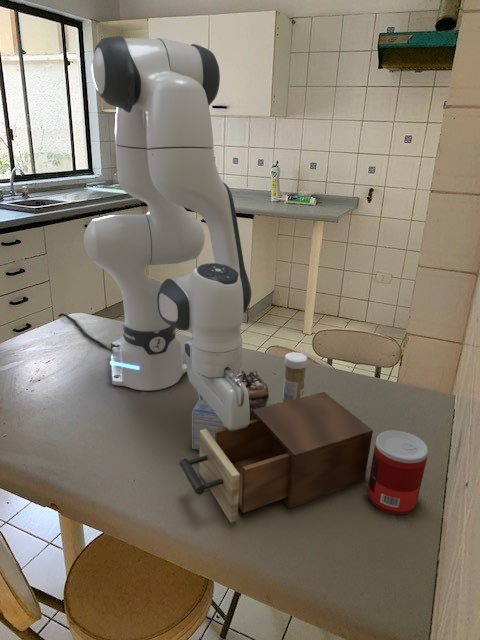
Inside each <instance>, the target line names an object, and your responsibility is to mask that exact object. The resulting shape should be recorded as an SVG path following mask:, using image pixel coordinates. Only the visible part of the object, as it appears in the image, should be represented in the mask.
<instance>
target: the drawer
mask: <svg viewBox="0 0 480 640" xmlns="http://www.w3.org/2000/svg"><path fill="white" fill-rule="evenodd" d="M291 459H292V456H291V455H290V454H289V453H288V451H287V450H286V449H285V448H284V447H283V446H282V445H281V444H280V443H279V442H278V441H277V440H276V439H275V438H274V436H273V435H272V434H271V433H270V432H269V431H268V430H267V429H266V428H265V427H264V426H263V425H262V424H261V423H260V421H259V420H258V419H254V420H250V422H249V425H248V426H247V427H246V428H243V429H240V430H236V431H229V430H228V429H227V427H224V428H220V429H216V430H215V440H214V439H213V437H212V436H211V435H210V433H209V432H208V430H207V429H202V430H200V450H199V456H198V457H195V458H193V459H188V458H185V457H184V458H181V460H180V461H179V466H180V468H181V470H182V472H183V473H184V474H185V475H184V476H186V478H187V480H188V482H189V483H190V485H191V487H192V488H193V490H194V492H195V494H196V495H202V494H204V493H205V491H206V490H208V489H209V490H210V492H211V494H212V495H213V497H214V499H215V500H216V502H217V503H218V505H219V506H220V508H221V510H222V511H223V513H224V515H225V516H226V518H227V519H228V521H229V523H230V524H231V523H234V522H237V521H238V519H239V509H240V511H241V512H242V514H245V513H247V512H250V511H252V510H256V509H258V508H261V507H263V506H266V505H267V506H268V505H269V504H272V503H275V502H278V501H281V500H282V499H283V498H286V497H288V490H289V480H290V469H291ZM197 464H199V466H198V467H199V468H198V469H199V470H198V471H199V474H200V477H201V478H202V479H203V481H204V482H205V483H203V482H202V480H201V479H200V477H199V476H198V474H197V472H196V470H195V469H194V467H193V466H192V465H197Z"/></svg>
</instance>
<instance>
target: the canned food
mask: <svg viewBox="0 0 480 640" xmlns="http://www.w3.org/2000/svg"><path fill="white" fill-rule="evenodd" d="M372 454H373V455H372V461H371V465H370V466H371V467H370V472H369V477H368V483H367V494H368V499H369V500H370V502H371V503H372V505H374V506H375V507H376V508H378V509H379V510H381V511H382V512H385V513H389V514H393V515H404V514H409V513H410V512H411V511H413V509H414V508H415V507H416V506H417V503H418V499H419V495H420V490H421V486H422V483H423V477H424V474H425V469H426V465H427V461H428V455H429V447H428V446H427V443H426V442H425V441H424V440H422V438H421V437H419V436H417V435H415V434H413V433H410V432H407V431H403V430H395V429H394V430H393V429H392V430H385V431H382V432H380V433H379V434H378V435H377V437H376V440H375V444H374V448H373V453H372Z"/></svg>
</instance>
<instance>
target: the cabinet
mask: <svg viewBox="0 0 480 640" xmlns="http://www.w3.org/2000/svg"><path fill="white" fill-rule="evenodd" d="M254 419H258V420H259V421H260V423H261V424H262V425H263V426H264V427H265V428H266V429H267V430H268V431H269V432H270V433H271V434H272V435H273V436H274V438H275V439H276V440H277V441H278V442H279V443H280V444H281V445H282V446H283V447H284V448H285V449H286V450H287V451H288V453H289V454H290V455H291V456H292V459H291V469H290V480H289V490H288V497H286V498H283V499H281V500H282V501H283V503H284V504H285V505H286V507H287V508H288V509H289V510H291V509H293V508H296V507H298V506H301V505H304V504H307V503H309V502H312V501H315V500H318V499H320V498H323V497H325V496H328V495H331V494H334V493H336V492H338V491H342V490H344V489H346V488H349V487H352V486H354V485H358V484H361V483H363V482H365V479H366V474H367V469H368V468H367V467H368V463H369V456H370V450H371V444H372V439H373V433H374V429H372V428H371V427H369V426H368V425H367V424H366V423H365V422H363V421H362V420H361V419H360V418H358V417H357V416H356V415H354V414H353V413H352V412H350V411H349V410H348V409H346V408H345V407H344V406H343V405H342V404H340V403H339V402H338V401H336V400H335V399H334V398H332V397H331V396H330V395H328V394H327V393H326V392H324V391H322V392H317V393H314V394H310V395H305V396H303V397H302V398H298V399H294V400H290V401H286V402H283V401H282V402H278V403H274V404H270V405H266V407H262V408H258V409H254V410H252V420H254Z"/></svg>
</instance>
